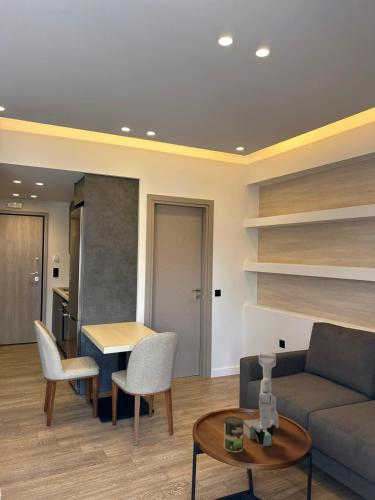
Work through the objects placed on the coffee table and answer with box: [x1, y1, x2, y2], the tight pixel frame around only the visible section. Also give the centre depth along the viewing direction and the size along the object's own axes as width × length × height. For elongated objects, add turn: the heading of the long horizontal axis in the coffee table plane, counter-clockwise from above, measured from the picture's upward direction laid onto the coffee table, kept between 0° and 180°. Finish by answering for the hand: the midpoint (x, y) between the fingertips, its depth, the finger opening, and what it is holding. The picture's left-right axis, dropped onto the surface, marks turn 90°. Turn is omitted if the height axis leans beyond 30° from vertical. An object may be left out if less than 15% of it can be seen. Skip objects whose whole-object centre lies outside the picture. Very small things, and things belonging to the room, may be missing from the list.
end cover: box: [254, 430, 272, 447], centre depth 199 cm, size 5×10×5 cm, turn 15°
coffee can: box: [223, 415, 244, 453], centre depth 192 cm, size 10×10×14 cm
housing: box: [243, 418, 267, 440], centre depth 208 cm, size 11×10×6 cm
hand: (265, 441), depth 196 cm, fingers open, 7 cm apart
